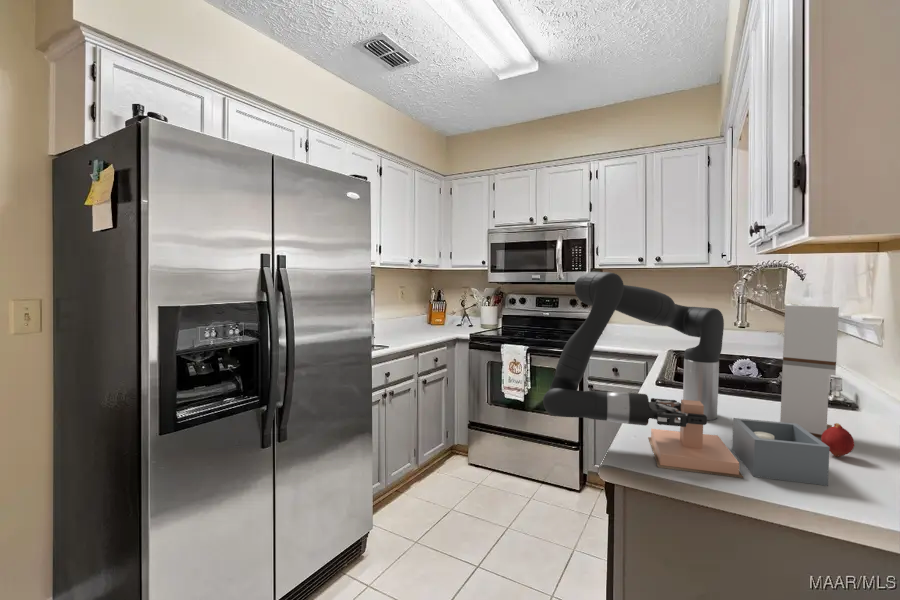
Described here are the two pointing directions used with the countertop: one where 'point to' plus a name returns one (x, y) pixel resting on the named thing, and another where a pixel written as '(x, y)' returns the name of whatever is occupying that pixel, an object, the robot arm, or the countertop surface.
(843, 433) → the pomegranate
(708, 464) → the lid
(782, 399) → the white tall block
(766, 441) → the storage box
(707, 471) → the board
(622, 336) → the countertop surface
